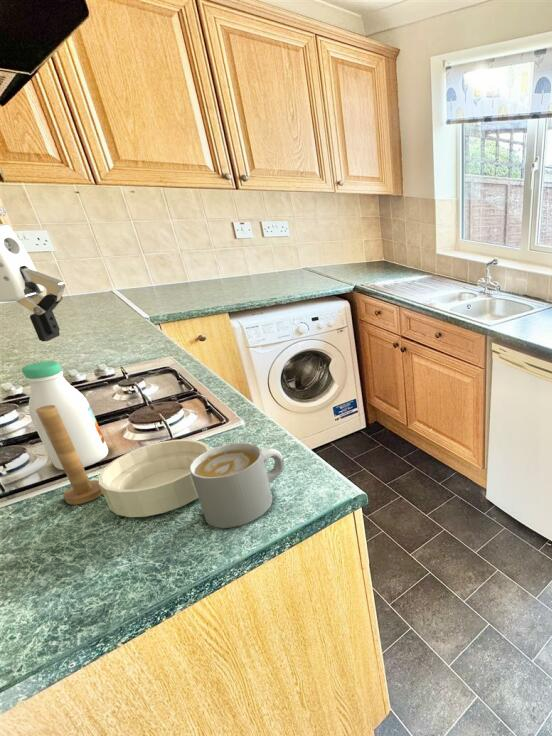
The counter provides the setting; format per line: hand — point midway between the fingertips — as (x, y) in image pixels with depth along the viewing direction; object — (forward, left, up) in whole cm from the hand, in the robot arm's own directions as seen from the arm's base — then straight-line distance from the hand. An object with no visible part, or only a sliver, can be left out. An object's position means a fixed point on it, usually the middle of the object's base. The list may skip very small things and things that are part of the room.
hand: (8, 339), depth 61 cm
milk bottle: (-13, +4, -29) cm, 32 cm away
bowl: (+10, +8, -29) cm, 32 cm away
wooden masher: (0, 0, -29) cm, 29 cm away
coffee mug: (+25, +14, -29) cm, 41 cm away
